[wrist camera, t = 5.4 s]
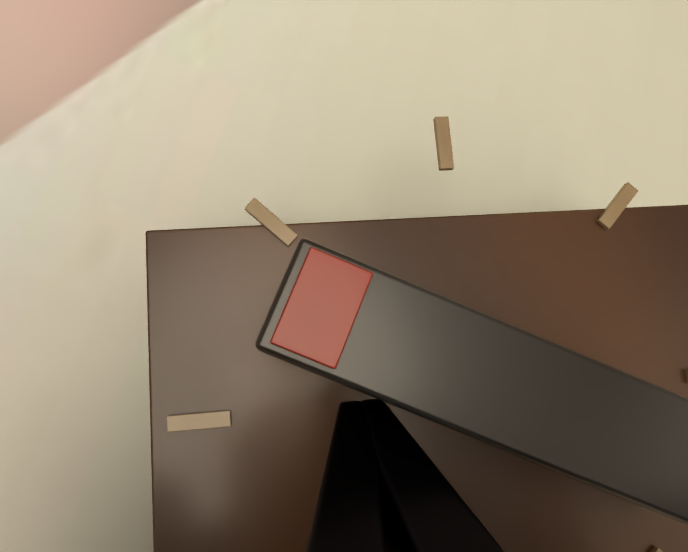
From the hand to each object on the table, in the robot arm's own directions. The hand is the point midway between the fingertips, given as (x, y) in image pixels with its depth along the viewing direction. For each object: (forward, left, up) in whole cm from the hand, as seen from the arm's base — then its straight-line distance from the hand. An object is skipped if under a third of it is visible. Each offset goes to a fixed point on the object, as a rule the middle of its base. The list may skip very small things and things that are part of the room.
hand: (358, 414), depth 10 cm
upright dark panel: (-2, -2, -3) cm, 4 cm away
